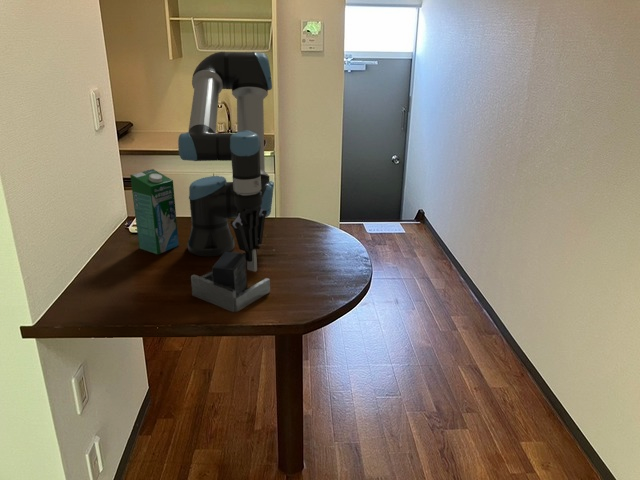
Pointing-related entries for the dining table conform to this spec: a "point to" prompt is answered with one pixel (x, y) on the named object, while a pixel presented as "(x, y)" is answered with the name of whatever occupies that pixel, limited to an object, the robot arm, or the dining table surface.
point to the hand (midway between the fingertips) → (252, 269)
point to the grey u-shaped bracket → (227, 292)
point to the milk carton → (154, 211)
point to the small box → (231, 271)
